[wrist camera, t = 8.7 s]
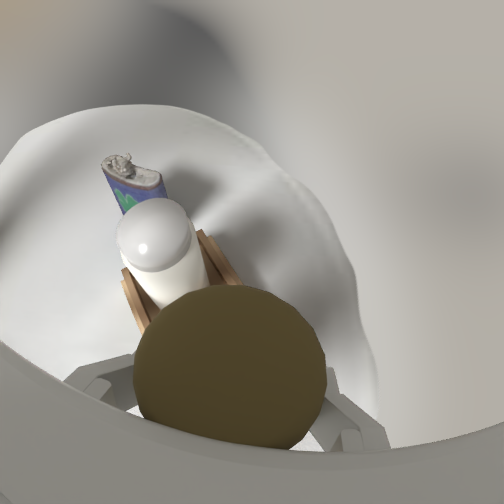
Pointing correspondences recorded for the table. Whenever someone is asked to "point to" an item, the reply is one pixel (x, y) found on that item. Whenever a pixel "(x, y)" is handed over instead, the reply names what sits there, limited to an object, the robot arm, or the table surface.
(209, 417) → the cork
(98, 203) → the table surface
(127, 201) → the flask
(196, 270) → the salt shaker
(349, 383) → the table surface
